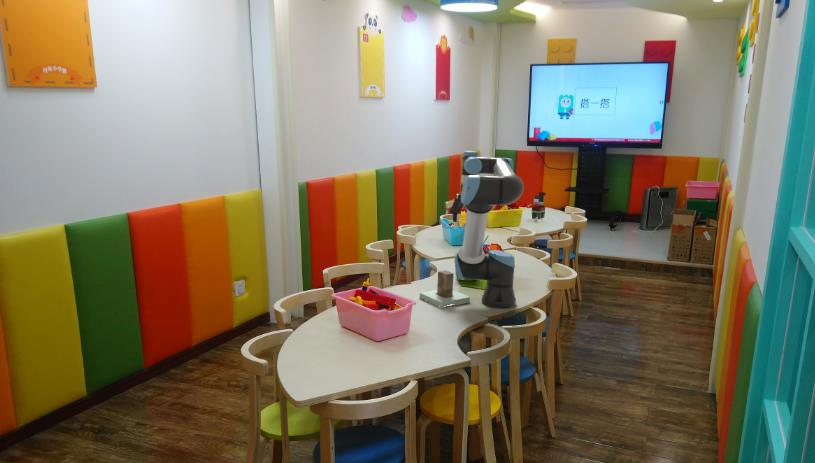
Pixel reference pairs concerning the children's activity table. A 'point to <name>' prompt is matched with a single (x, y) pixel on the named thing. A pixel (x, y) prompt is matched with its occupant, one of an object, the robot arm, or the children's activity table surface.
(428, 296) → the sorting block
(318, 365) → the children's activity table surface
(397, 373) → the children's activity table surface
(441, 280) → the walnut peg
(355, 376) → the children's activity table surface
